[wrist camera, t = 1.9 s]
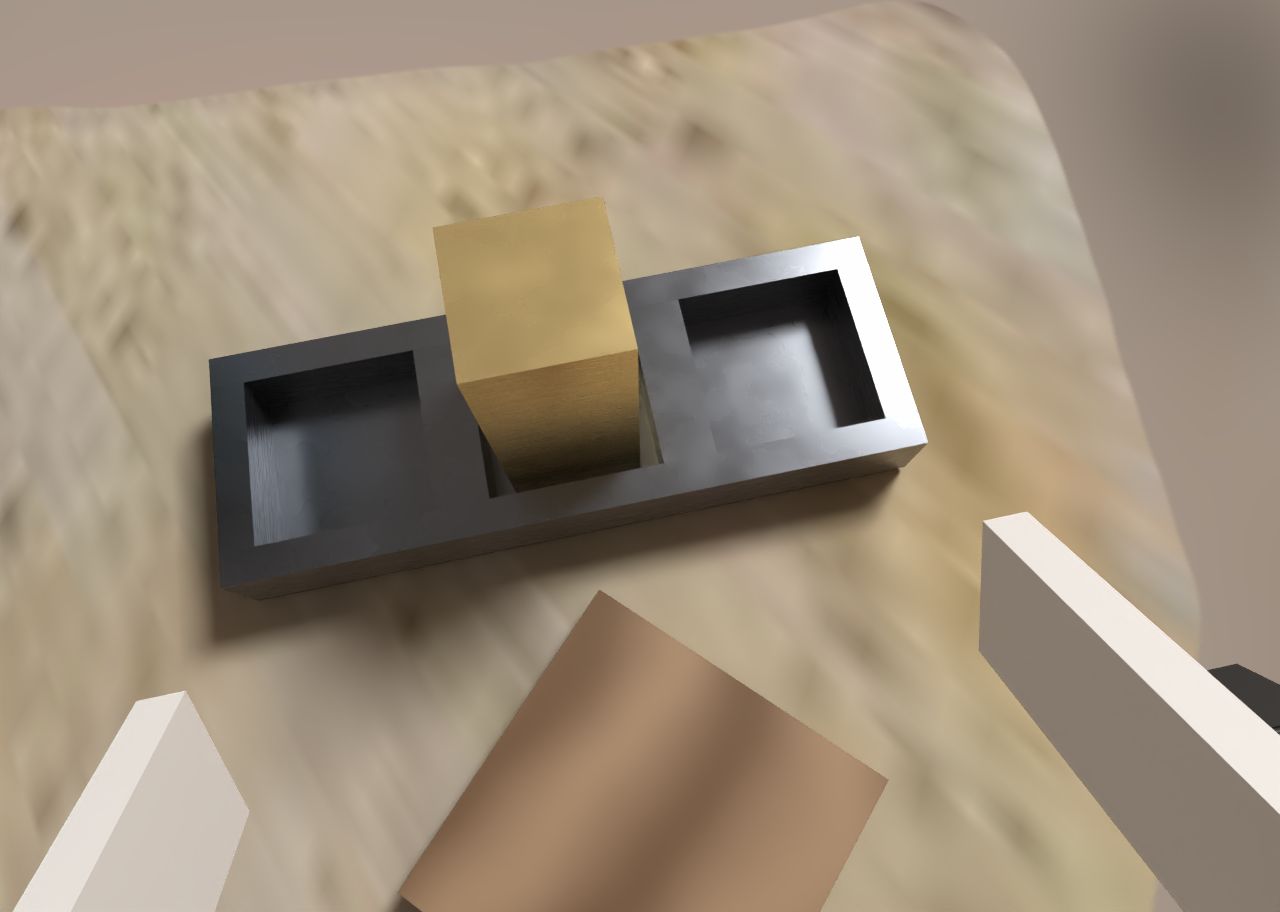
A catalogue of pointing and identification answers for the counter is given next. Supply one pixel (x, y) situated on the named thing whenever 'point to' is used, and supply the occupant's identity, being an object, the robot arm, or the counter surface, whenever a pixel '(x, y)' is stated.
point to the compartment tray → (501, 518)
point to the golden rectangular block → (544, 341)
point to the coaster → (647, 792)
